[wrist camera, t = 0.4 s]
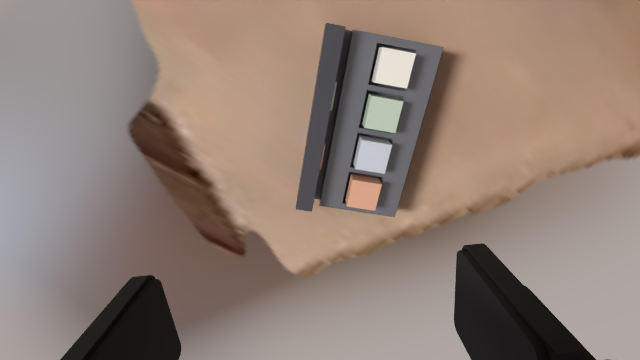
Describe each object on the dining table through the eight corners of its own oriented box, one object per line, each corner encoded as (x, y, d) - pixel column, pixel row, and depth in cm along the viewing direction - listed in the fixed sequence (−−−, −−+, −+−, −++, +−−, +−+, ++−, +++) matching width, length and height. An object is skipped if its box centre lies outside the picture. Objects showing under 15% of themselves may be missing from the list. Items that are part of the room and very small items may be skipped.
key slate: (359, 134, 40) (361, 139, 38) (388, 139, 40) (392, 145, 38) (353, 162, 41) (355, 169, 39) (381, 167, 41) (384, 173, 39)
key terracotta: (350, 173, 42) (352, 179, 39) (378, 177, 42) (381, 184, 40) (345, 198, 43) (346, 206, 41) (372, 202, 43) (375, 210, 41)
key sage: (368, 93, 38) (371, 95, 36) (398, 98, 38) (403, 101, 36) (361, 123, 39) (364, 127, 37) (390, 128, 39) (395, 133, 37)
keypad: (324, 27, 38) (325, 23, 33) (432, 47, 39) (450, 46, 34) (298, 191, 45) (295, 209, 40) (389, 205, 46) (398, 224, 41)
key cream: (378, 47, 36) (382, 47, 34) (410, 53, 36) (416, 53, 34) (371, 80, 37) (374, 82, 35) (401, 86, 38) (406, 88, 35)
